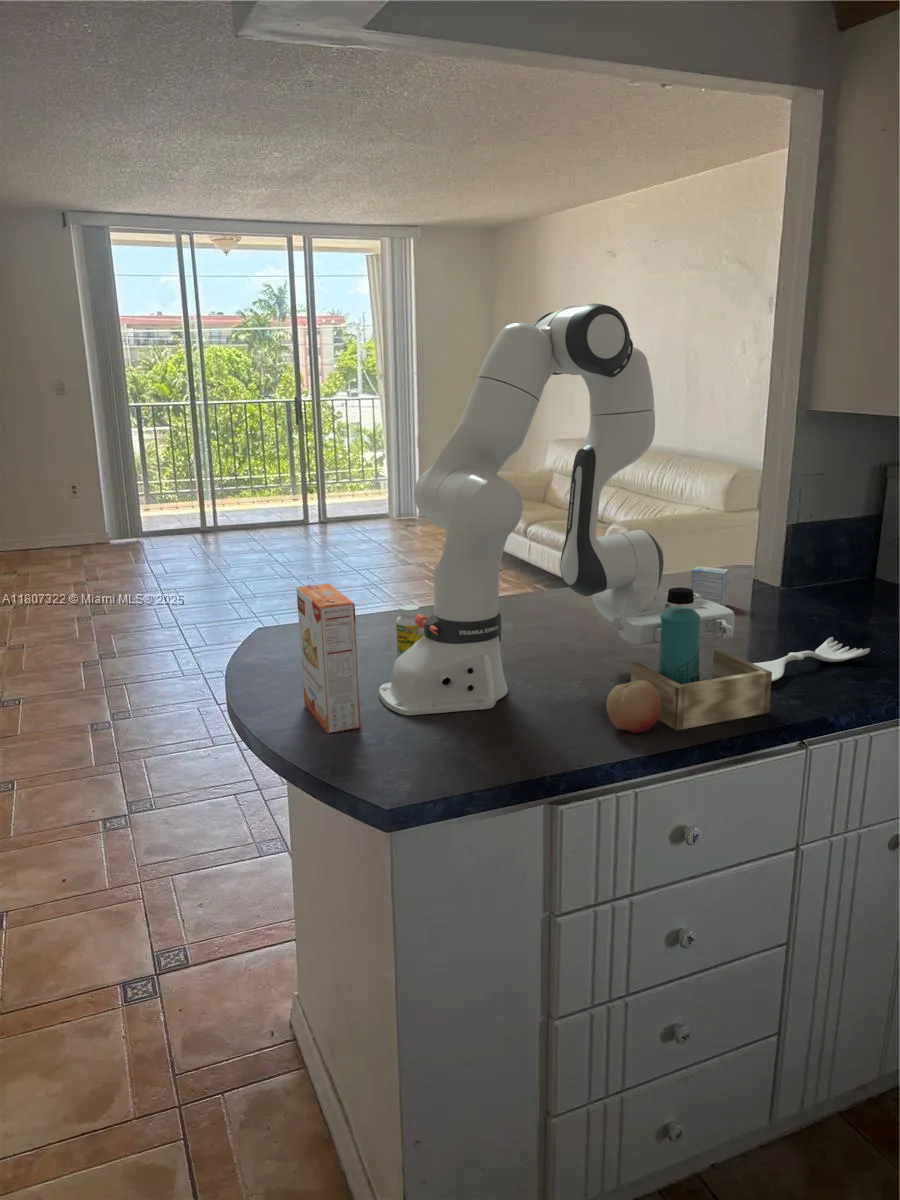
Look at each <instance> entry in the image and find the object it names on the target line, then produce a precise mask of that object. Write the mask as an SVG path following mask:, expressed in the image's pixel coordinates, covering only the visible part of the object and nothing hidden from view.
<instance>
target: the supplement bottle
mask: <svg viewBox="0 0 900 1200" xmlns="http://www.w3.org/2000/svg"><path fill="white" fill-rule="evenodd" d="M398 614H399V616H398V617H397V618H396V621H395V626H396V652H397V655H398V656H400V655H401V654H403V653H404V652H405V651H406V650H408V649H409V648H410V647H411V646H412V645H414V644H415V643H416V642H417V641H418V640H419V639H421V638H422V637H423V636H424V628H421V627H419V626H418V625H416V623H415V621H414V620H416V619H415V618H416V616H417V615H419V614H421V613H420V606H419V605H415V604H406V605H400V606H399V608H398Z"/></svg>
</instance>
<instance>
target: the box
mask: <svg viewBox="0 0 900 1200" xmlns="http://www.w3.org/2000/svg"><path fill="white" fill-rule="evenodd" d="M712 658H713V659H712V673H711V679H706V680H699V681H698V682H692V683H686V684H679V683H677V682H675V681H673V680H671V679H669V678H667V677H665V676H663V675H661V674H660V673H658V672H657V671H656V670H654V669H652V668H650V667H648V666H646V665H644V664H642V663H640V662H638V661H637V662H635V661H634V662H631V663H630V665H631V667H630V682H634V681H639V680H644V681H647V682H649V683H650V684H652V685H653V686H654V687H655V689H656V690H657V692H658V694H659V696H660V699H661V712H660V716H659V718H658V719H659V720H658V721H659V722H661V723H663V722H664V724H665V723H666V724H665V725H667V726H668V725H669V726H668V727H670V728H672V729H674V730H675V731H682V730H686V729H690V728H696V727H700V726H701V727H702V726H706V725H712V724H718V723H722V722H728V721H733V720H738V719H743V718H748V717H754V716H759V715H764V714H769V713H770V703H771V690H772V682H771V680H772V672H771V671H769V670H766V669H764V668H762V667H759V666H757V665H755V664H752V662H750V661H748V660H745V659H743V658H741V657H739V656H736V655H734V654H732V653H729V652H727V651H724V650H722V649H714V650H713V657H712Z"/></svg>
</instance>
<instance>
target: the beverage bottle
mask: <svg viewBox="0 0 900 1200" xmlns="http://www.w3.org/2000/svg"><path fill="white" fill-rule="evenodd" d="M690 588H691V587H684V586H683V587H680V586H679V587H677V586H676V587H671V588H669V589H668V590H667V591H668V597H667V602H669V603H672V604H691V603H693V602H694V597H693V590H692V589H690ZM660 619H661V641H660V643H659V658H658V661H659V664H658V666H659V667H658V670H657V671H658V673H660V674H661V675H663V676H665V677H667V678H669V679H671V680H673V681H675V682H677V683H679V684H686V683H692V682H698V681H700V667H701V666H700V663H701V661H700V659H701V657H700V644H701V641H700V637H699V633H700V615H699V614H698V613H697V612H696V611H695V610H693V609H692V608H687V607H671V608H668V609H667V610H665V611H664V612H663V613H662V614H661V616H660ZM701 645H702V644H701Z"/></svg>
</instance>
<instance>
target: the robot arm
mask: <svg viewBox="0 0 900 1200" xmlns="http://www.w3.org/2000/svg"><path fill="white" fill-rule="evenodd" d="M633 342H634V341H633V340H632V338H631V334H630V329H629V326H628V324H627V321H626V320H625V318H624V317H623V314H622V313H620V311H619V310H617V309H616V308H614V307H612V306H610V305H608V304H603V303H588V304H585V305H570V306H567V307H564V308H561V309H559V310H555V311H552V312H549V313H548V312H547V313H546V314H544V315H543V316H541V317H540V318H539V319H538V320H536V321H535V322H534V323H532V324H531V323H525V322H514V323H513V322H512V323H510V324H508V325H507V324H506V326H504V327H503V328H502V329H501V330H500V332H499V333H498V335H497V337H496V338H495V339H494V341H493V343H492V345H491V346H490V349H489V350H488V352H487V353H486V356H485V358H484V360H483V362H482V365H481V367H480V369H479V371H478V374H477V377H476V379H475V382H474V383H473V387H472V390H471V392H470V395H469V397H468V400H467V402H466V404H465V407H464V409H463V412H462V415H461V417H460V419H459V421H458V423H457V426H456V427H455V429H454V431H453V433H452V435H450V438H448V441H447V442H446V444H445V445H444V447H443V448H442V450H441V452H440V454H439V455H438V456H437V458H436V459H435V461H434V462H433V463H432V464H431V466H430V467H429V468H428V469H426V470H425V471H424V472H423V473H422V474H421V475H420V476H419V477H418V479H417V481H416V483H415V486H414V491H413V497H414V503H415V505H416V507H417V510H418V511H419V512H420V513H421V515H423V516H424V518H425V519H426V520H428V521H429V522H430V523H431V524H433V525H434V526H437V527H439V528H441V529H444V530H445V540H444V545H443V550H442V554H441V557H440V560H439V561H438V562H437V563H436V564H435V566H434V568H433V569H434V570H433V606H434V607H433V610H434V611H433V612H432V613H431V615H430V616H429V617H426V616H425V615H424V614H421V613H419V615H417V616H416V618H415V619H416V620H414V621H415V623H416V625H418V626H419V627H421V628H423V630H424V636H423V637H422V638H421V639H419V640H418V641H417V642H416V643H415V644H414V645H412V646H411V647H410V648H409V649H408V650H406V651H405V652H404V653H403V654H401V655H398V656H397V658H396V659H395V661H394V663H393V667H392V672H391V678H390V679H391V680H390V681H389V682H387V683H383V684H381V685H380V687H379V689H378V697H380V698H379V700H380V699H381V700H380V701H381V702H382V704H383V705H384V706H386V707H387V708H388V709H390V711H393V712H395V713H397V714H401V715H404V716H415V715H417V716H418V715H431V714H439V713H440V714H442V713H452V712H453V713H454V712H465V711H476V710H478V711H479V710H487V709H488V710H489V709H492V708H494V707H495V706H496V704H497V701H499V700H500V699H502V698H504V697H505V696H506V695H507V694H508V692H509V689H508V686H507V682H506V679H505V673H504V670H503V664H502V656H501V645H500V643H501V642H502V614H501V612H500V611H499V597H500V594H499V592H500V591H499V590H500V587H499V586H500V584H499V583H500V568H501V563H502V559H503V558H502V557H503V554H504V550H505V546H506V543H507V540H508V539H509V536H510V535H511V534H512V532H514V530H515V529H516V528H517V527H518V525H519V524H520V521H521V518H522V515H523V507H524V506H523V500H522V497H521V494H520V492H519V491H518V489H517V487H516V486H515V485H513V484H512V483H511V482H510V481H509V480H507V479H505V478H504V477H502V476H501V475H499V474H498V473H499V472H500V471H501V469H502V467H503V466H504V464H505V463H506V462H507V461H508V460H509V459H510V458H511V457H512V456H513V455H514V454H516V453H517V452H518V451H519V450H520V449H521V448H522V446H523V445H524V442H525V440H526V437H527V434H528V432H529V430H530V427H531V424H532V422H533V419H534V416H535V414H536V412H537V411H536V410H537V408H538V406H539V403H540V401H541V398H542V395H543V391H544V389H545V386H546V384H547V382H548V381H549V379H550V378H551V377H552V376H555V375H570V376H581V377H582V379H583V380H584V382H585V385H586V386H587V390H588V394H589V414H590V415H589V427H588V432H587V436H586V439H585V442H584V444H583V446H582V447H580V448H579V449H578V450H577V451H576V454H575V456H574V461H573V465H572V471H571V479H570V488H569V497H568V498H569V500H568V511H567V523H566V531H565V538H564V539H565V540H564V544H563V548H562V552H561V556H560V565H559V568H560V575H561V579H562V580H563V582H564V583H565V585H566V586H567V587H568V588H570V590H572V591H574V592H575V593H576V594H578V595H581V596H582V597H589V596H592V602H593V605H594V607H595V609H596V610H597V611H598V612H599V614H600V615H601V616H602V617H603V618H605V619H606V620H608V621H609V627H610V628H612V629H614V630H617V631H618V635H619V636H620V637H621V638H623V639H624V640H625V641H626V642H628V643H630V644H632V645H637V646H644V645H651V644H652V645H653V644H660V641H661V619H660V616H661V614H662V613H663V612H664V611H665V610H667V609H668V608H671V607H687V608H692V609H693V610H695V611H696V612H697V613H698V614H699V615H700V633H699V638H700V637H706V636H713V635H718V637H720V638H723V639H729V638H733V636H734V627H735V613H734V611H733V610H732V609H731V608H729V607H726V606H722V605H720V604H717V603H715V602H712V601H708V600H702V596H701V595H699V594H696V593H693V597H694V602H693V603H691V604H672V603H669V602H667V597H668V591H669V590H661V589H659V587H660V585H661V581H662V576H663V573H664V562H665V561H664V554H663V550H662V547H660V544H659V543H658V541H657V540H656V538H655V537H654V536H652V535H651V534H650V533H649V532H648V531H646V530H643V529H635V530H634V529H633V530H628V531H623V532H617V533H613V534H608V535H602V536H597V528H598V527H597V526H598V519H599V518H598V517H599V508H600V499H601V497H600V496H601V493H602V491H603V488H604V487H605V485H606V484H607V482H608V481H609V480H610V479H611V478H612V477H613V476H615V475H616V474H617V473H619V472H620V471H622V470H624V469H625V468H627V467H629V466H631V465H632V464H633V463H635V462H637V461H638V460H639V459H640V458H642V456H643V455H645V454H646V452H647V451H648V449H649V448H650V447H651V445H652V443H653V442H654V438H655V430H656V415H655V413H656V411H655V399H654V390H653V389H654V388H653V381H652V375H651V371H650V366H649V362H648V359H647V357H646V354H645V353H644V352H643V351H642V350H640V349H639V348H637V347H634V343H633Z"/></svg>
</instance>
